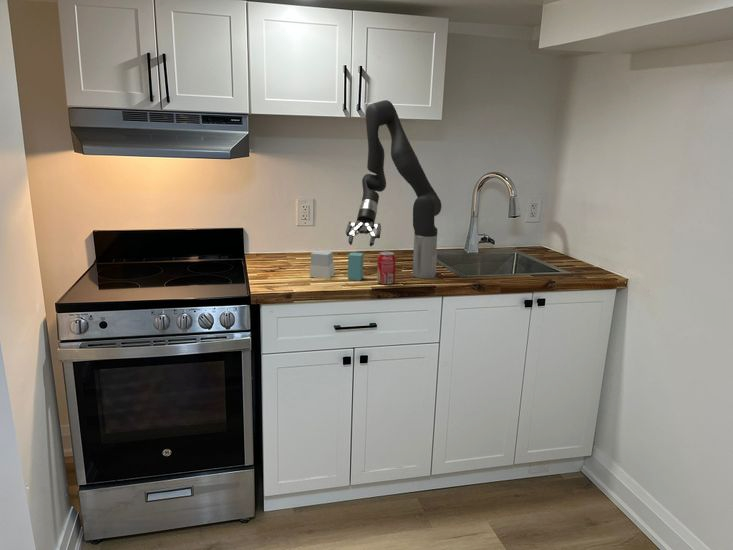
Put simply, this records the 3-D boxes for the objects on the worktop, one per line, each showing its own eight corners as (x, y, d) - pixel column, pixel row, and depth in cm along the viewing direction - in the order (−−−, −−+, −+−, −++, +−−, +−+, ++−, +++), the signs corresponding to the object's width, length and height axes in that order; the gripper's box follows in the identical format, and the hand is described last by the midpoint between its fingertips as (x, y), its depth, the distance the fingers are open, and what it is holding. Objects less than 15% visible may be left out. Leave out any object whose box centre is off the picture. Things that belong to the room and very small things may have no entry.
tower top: (332, 263, 224) (332, 251, 222) (327, 267, 217) (327, 254, 216) (316, 261, 225) (316, 249, 224) (310, 265, 219) (310, 253, 218)
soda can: (384, 279, 219) (385, 250, 216) (398, 282, 215) (399, 253, 212) (373, 283, 214) (374, 253, 211) (387, 286, 209) (388, 255, 206)
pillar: (363, 277, 222) (363, 253, 219) (360, 280, 217) (360, 256, 214) (351, 276, 223) (351, 252, 220) (348, 279, 218) (348, 255, 215)
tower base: (334, 274, 226) (334, 262, 224) (328, 279, 218) (328, 267, 217) (315, 273, 227) (315, 261, 226) (309, 278, 220) (309, 265, 218)
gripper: (349, 206, 230) (342, 238, 222) (382, 208, 227) (376, 240, 219) (352, 217, 236) (345, 248, 229) (384, 219, 233) (378, 250, 226)
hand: (360, 244), depth 224 cm, fingers open, 8 cm apart
